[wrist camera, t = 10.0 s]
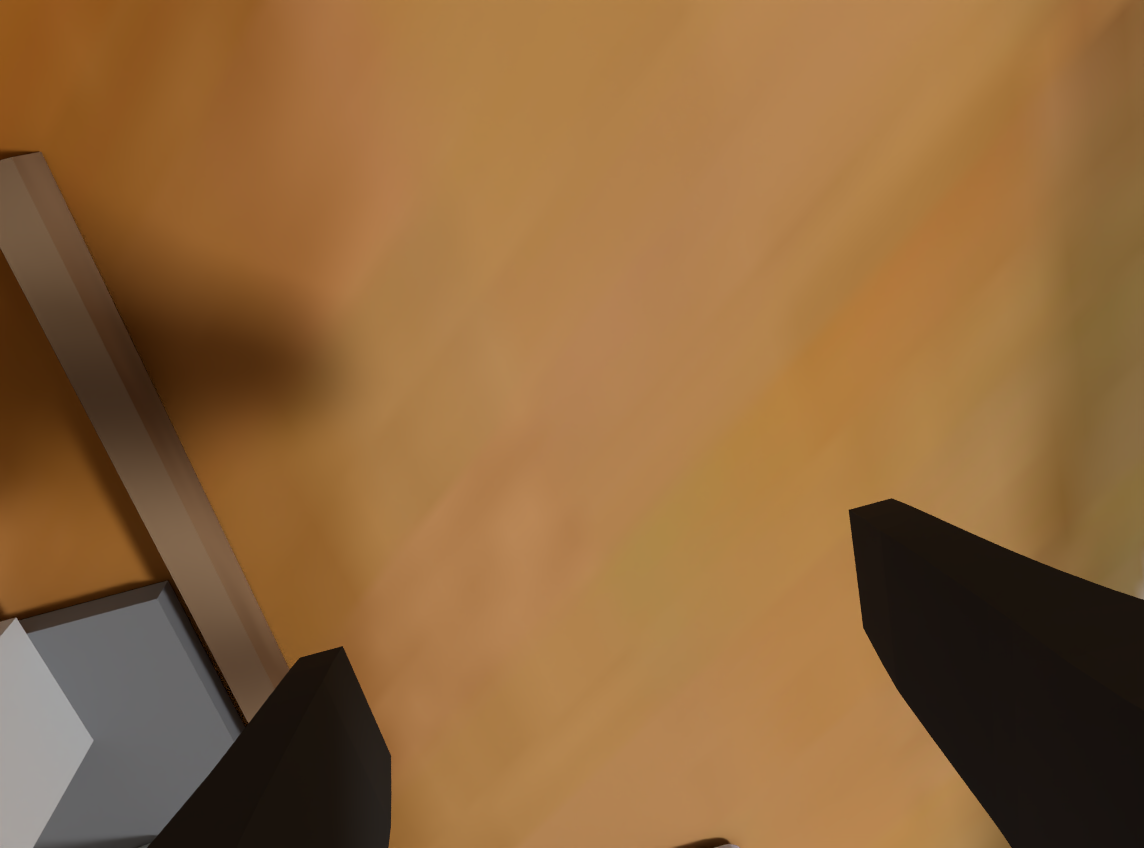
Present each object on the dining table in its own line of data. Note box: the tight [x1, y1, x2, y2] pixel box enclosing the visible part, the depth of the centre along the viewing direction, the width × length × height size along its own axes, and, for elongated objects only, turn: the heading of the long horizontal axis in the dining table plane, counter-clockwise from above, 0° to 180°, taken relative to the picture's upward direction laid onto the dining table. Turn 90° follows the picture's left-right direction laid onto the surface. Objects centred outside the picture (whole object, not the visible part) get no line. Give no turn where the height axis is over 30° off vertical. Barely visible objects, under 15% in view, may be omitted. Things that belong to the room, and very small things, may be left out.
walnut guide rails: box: [0, 152, 289, 723], centre depth 22 cm, size 26×13×1 cm, turn 14°
